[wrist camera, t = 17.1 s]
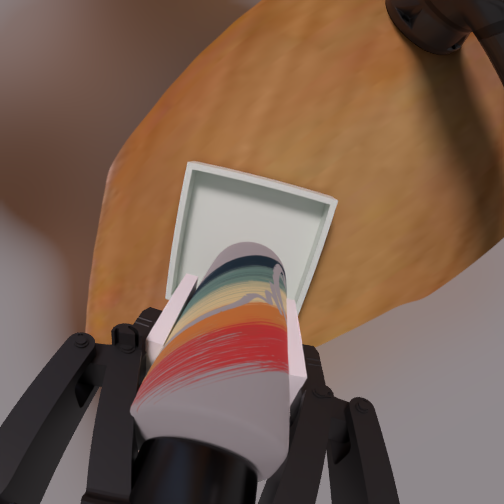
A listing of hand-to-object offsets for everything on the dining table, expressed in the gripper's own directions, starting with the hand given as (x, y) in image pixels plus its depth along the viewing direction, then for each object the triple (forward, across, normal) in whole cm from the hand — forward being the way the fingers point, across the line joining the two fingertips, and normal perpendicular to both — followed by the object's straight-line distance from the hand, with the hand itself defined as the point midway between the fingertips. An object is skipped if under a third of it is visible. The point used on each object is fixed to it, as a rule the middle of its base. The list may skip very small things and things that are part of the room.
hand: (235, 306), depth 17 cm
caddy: (+25, 0, -4) cm, 25 cm away
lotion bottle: (+5, 0, 0) cm, 5 cm away
